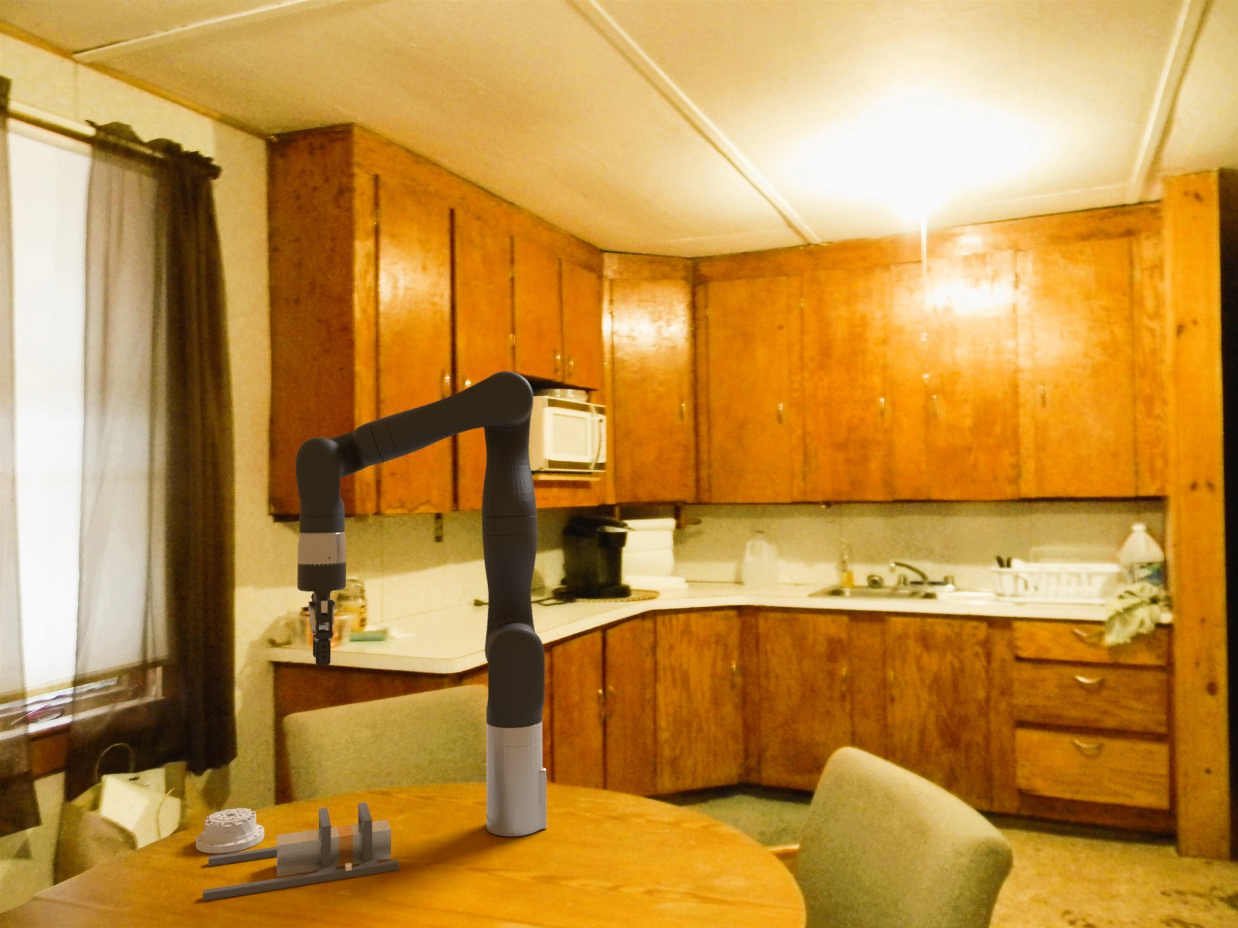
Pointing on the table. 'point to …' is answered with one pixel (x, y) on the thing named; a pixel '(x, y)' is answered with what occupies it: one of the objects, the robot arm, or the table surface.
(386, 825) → the bar
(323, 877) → the collar frame
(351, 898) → the table surface
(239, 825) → the mechanical component
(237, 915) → the table surface
